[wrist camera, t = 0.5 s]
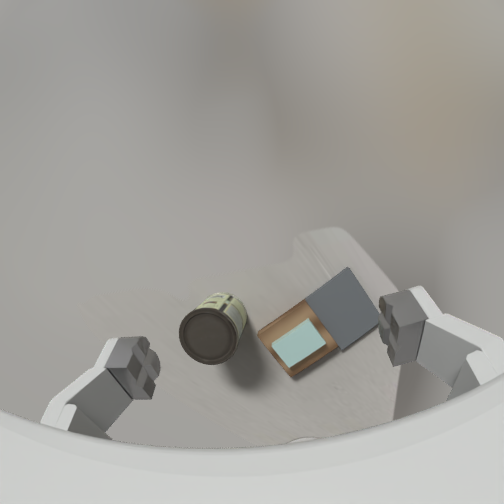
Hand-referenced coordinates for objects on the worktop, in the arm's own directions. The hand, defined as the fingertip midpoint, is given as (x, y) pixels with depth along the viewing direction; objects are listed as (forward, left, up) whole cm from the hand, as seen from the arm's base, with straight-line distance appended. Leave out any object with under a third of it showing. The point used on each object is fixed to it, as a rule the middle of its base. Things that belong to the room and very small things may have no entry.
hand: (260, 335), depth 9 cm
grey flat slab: (-18, -5, -50) cm, 53 cm away
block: (-17, +7, -47) cm, 50 cm away
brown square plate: (-17, +7, -50) cm, 53 cm away
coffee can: (-4, +17, -50) cm, 53 cm away
